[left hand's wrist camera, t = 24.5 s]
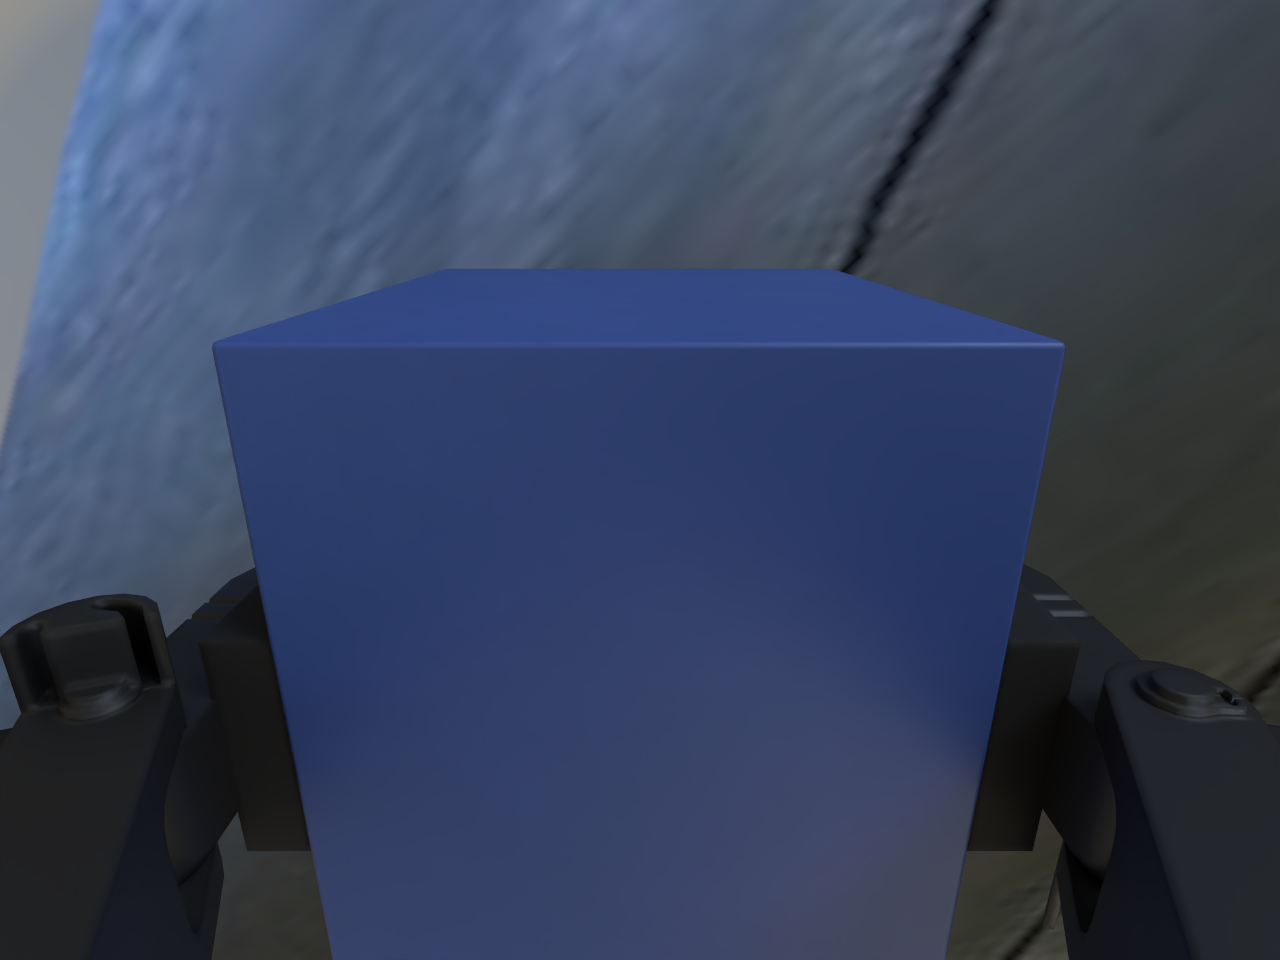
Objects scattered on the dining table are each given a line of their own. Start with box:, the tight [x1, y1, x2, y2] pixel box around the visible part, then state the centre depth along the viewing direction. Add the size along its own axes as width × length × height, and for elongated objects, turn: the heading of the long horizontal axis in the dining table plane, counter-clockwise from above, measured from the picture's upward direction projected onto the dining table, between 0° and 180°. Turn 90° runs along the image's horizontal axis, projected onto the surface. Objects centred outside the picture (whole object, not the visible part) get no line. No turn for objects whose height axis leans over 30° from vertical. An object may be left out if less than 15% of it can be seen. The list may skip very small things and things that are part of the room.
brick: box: [212, 269, 1065, 960], centre depth 12 cm, size 7×9×8 cm
